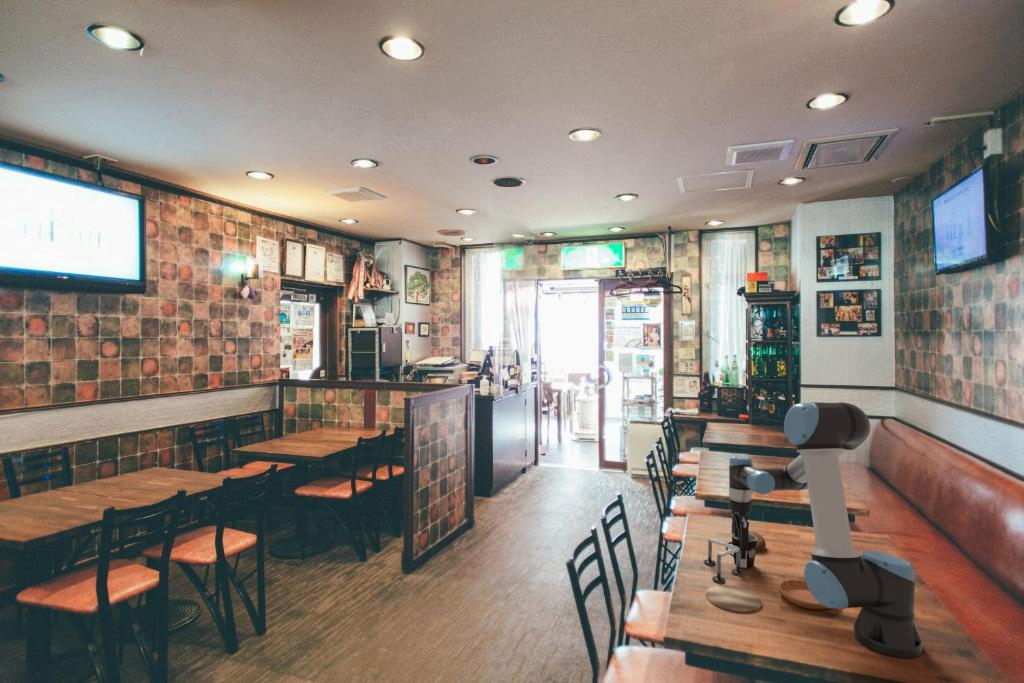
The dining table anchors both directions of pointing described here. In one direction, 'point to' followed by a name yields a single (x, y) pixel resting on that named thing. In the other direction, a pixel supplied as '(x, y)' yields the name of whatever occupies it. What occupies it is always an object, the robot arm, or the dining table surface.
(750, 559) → the coffee mug
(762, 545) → the bread roll
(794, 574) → the dining table surface
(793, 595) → the saucer
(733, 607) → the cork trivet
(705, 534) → the dining table surface
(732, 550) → the bent wire
